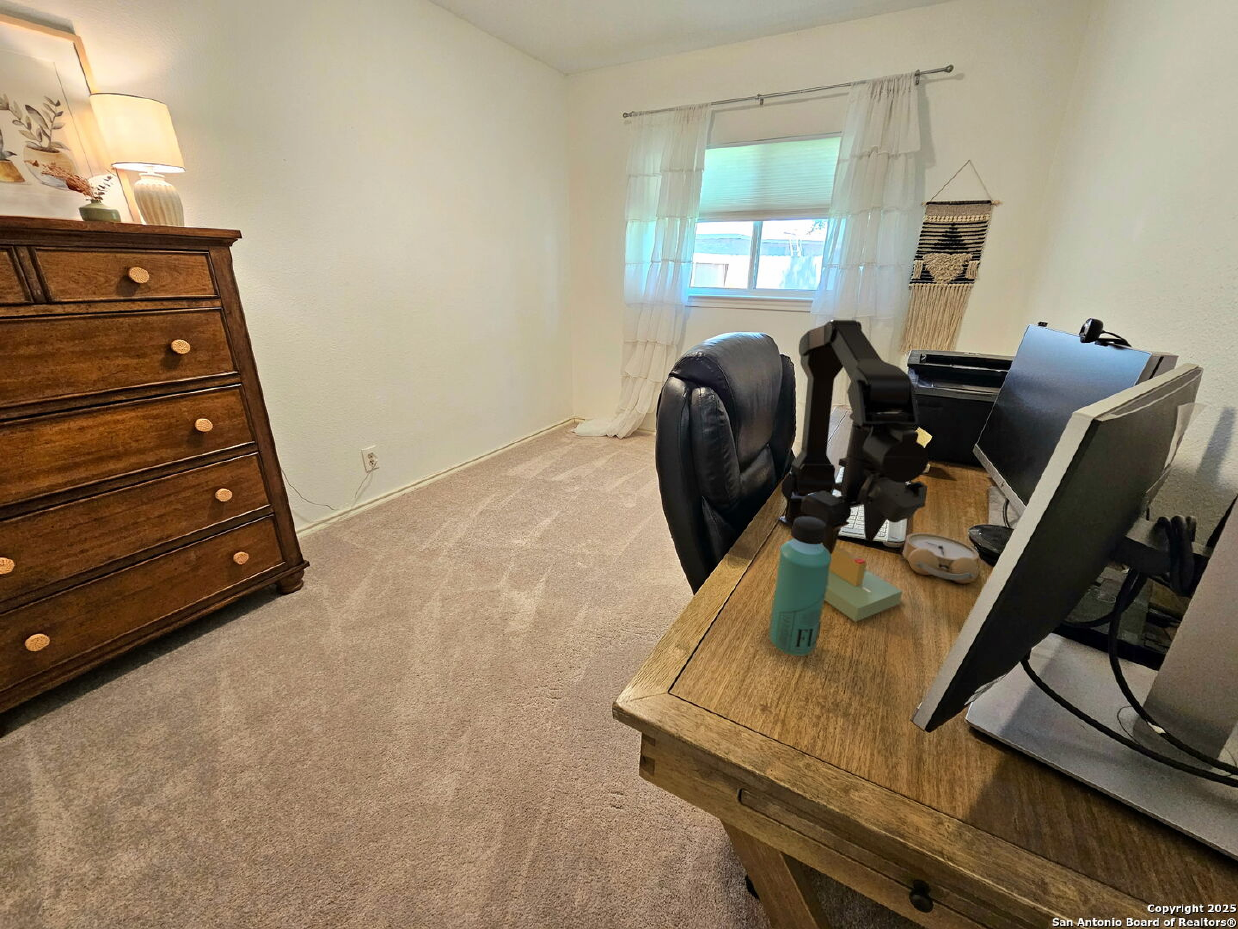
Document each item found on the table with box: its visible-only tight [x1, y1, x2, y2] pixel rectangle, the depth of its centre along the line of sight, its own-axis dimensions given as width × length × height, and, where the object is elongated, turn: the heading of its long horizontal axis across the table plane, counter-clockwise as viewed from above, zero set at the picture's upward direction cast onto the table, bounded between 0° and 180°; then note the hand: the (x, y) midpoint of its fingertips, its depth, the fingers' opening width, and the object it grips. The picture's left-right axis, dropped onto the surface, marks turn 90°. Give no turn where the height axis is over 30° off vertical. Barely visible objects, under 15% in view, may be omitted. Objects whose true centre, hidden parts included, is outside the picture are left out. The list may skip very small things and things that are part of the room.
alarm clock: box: [902, 532, 980, 585], centre depth 86 cm, size 11×5×15 cm
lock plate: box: [824, 569, 903, 623], centre depth 80 cm, size 14×10×3 cm
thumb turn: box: [829, 544, 868, 586], centre depth 79 cm, size 6×2×4 cm, turn 26°
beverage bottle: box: [768, 516, 831, 657], centre depth 64 cm, size 6×7×20 cm
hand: (849, 546), depth 78 cm, fingers open, 9 cm apart
